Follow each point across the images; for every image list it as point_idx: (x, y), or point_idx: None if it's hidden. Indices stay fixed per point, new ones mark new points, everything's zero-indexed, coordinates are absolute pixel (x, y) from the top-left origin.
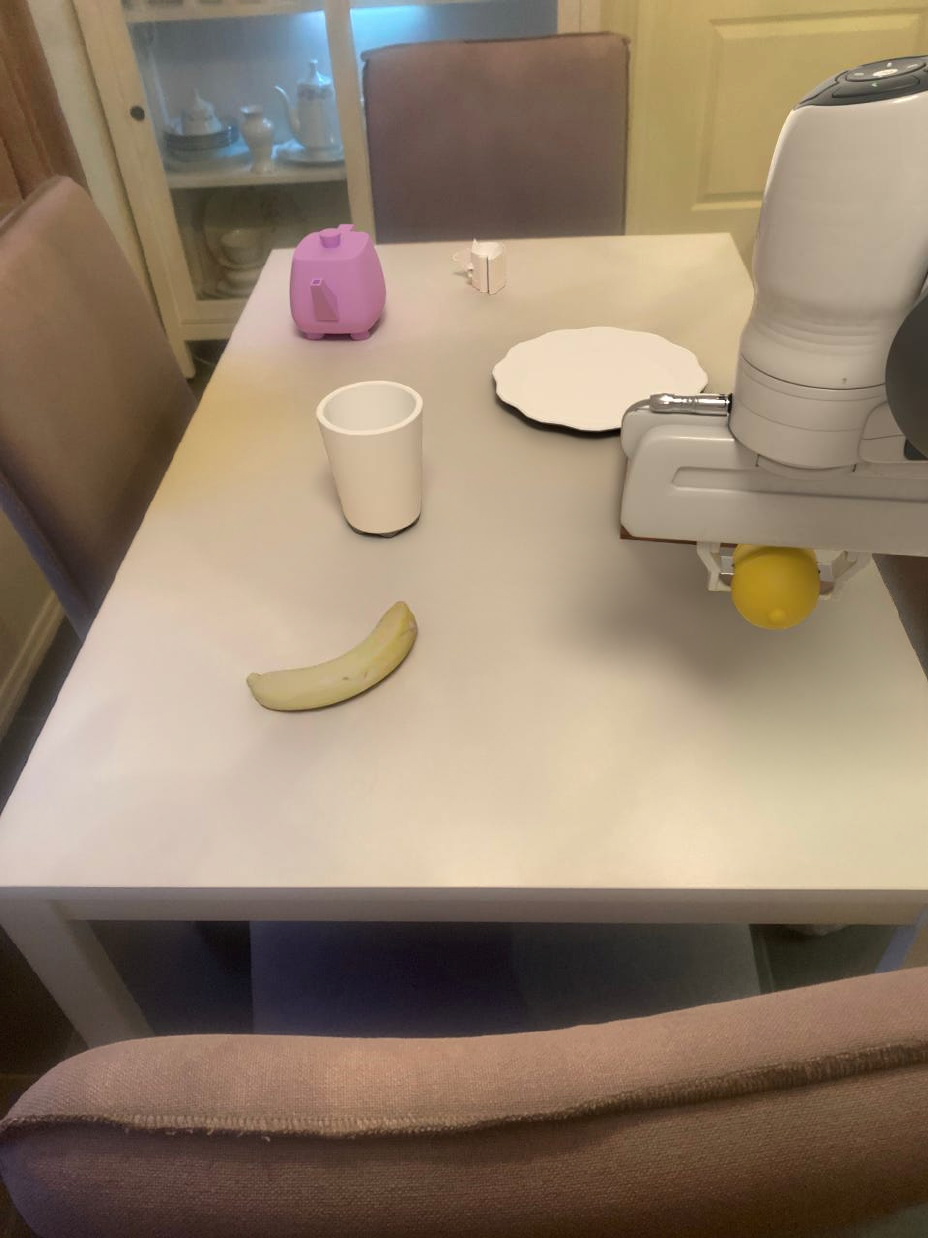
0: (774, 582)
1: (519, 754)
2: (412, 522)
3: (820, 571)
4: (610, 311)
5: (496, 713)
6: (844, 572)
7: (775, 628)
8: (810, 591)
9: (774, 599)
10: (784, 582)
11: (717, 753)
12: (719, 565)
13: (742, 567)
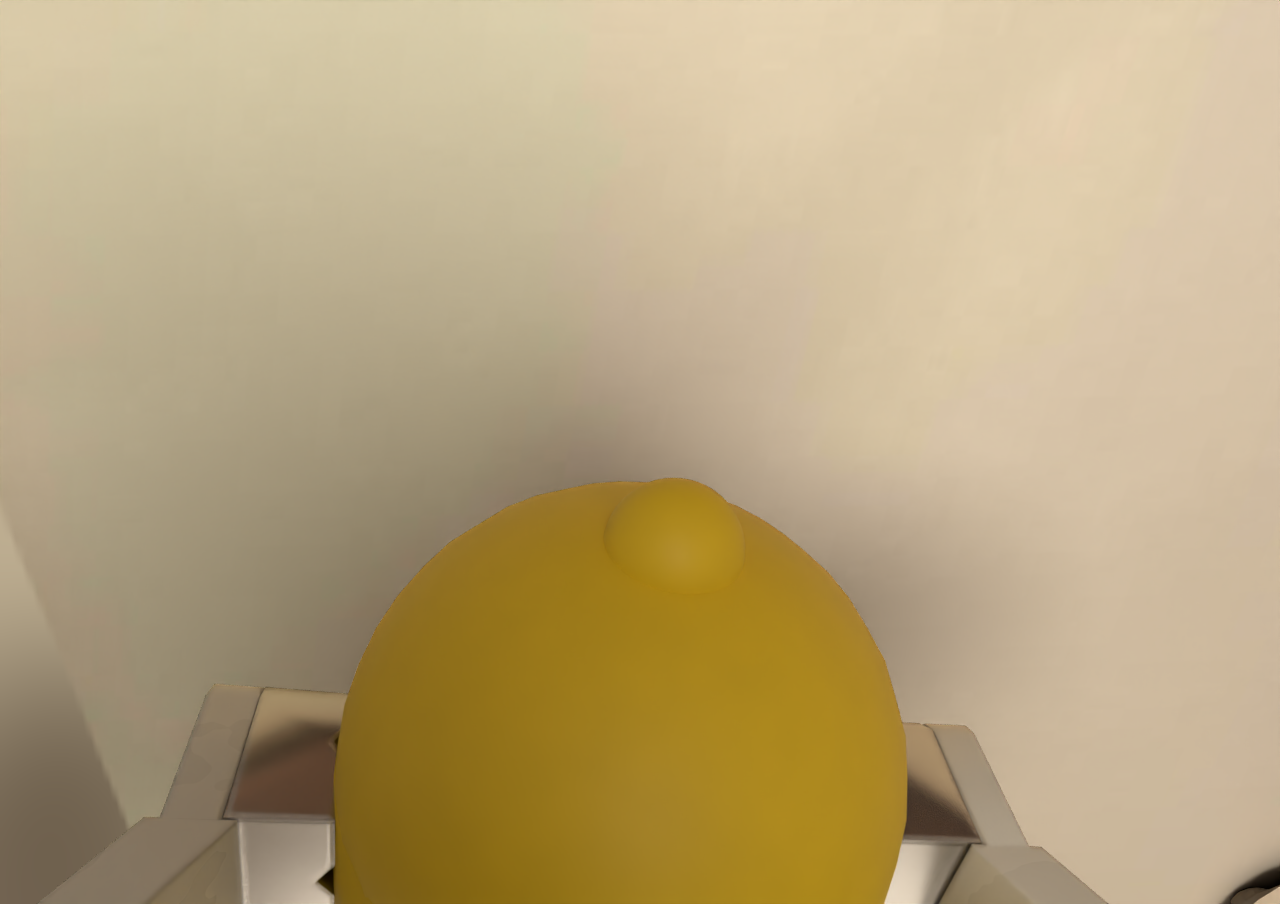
0: (739, 799)
1: (1255, 182)
2: (1261, 895)
3: (320, 882)
4: None
5: (1264, 335)
6: (146, 901)
7: (630, 482)
8: (433, 732)
9: (725, 655)
10: (666, 803)
11: (645, 189)
12: (979, 894)
13: (884, 897)
